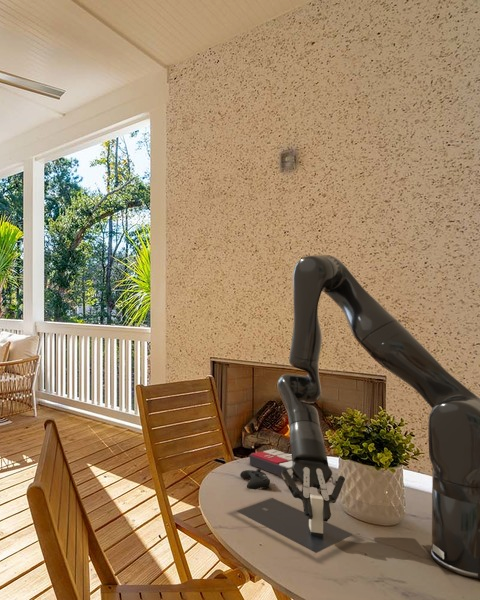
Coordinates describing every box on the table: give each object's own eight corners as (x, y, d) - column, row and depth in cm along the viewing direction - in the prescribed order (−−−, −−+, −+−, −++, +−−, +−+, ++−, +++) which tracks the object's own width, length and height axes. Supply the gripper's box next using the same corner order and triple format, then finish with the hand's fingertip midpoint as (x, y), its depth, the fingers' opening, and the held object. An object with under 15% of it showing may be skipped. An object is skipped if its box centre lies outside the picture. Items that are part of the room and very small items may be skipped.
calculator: (272, 447, 142) (314, 460, 129) (273, 460, 142) (315, 475, 129) (248, 452, 138) (289, 466, 124) (249, 466, 137) (290, 481, 124)
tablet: (360, 539, 95) (360, 535, 95) (318, 561, 87) (318, 556, 87) (271, 499, 114) (271, 495, 114) (230, 513, 106) (230, 510, 106)
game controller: (238, 473, 128) (253, 460, 127) (251, 487, 127) (266, 473, 127) (246, 487, 118) (262, 473, 118) (260, 502, 118) (276, 487, 117)
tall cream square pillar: (320, 531, 96) (321, 494, 96) (323, 537, 94) (323, 499, 94) (308, 529, 97) (309, 492, 97) (310, 535, 94) (311, 497, 94)
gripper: (277, 434, 104) (285, 507, 93) (342, 440, 100) (359, 518, 88) (274, 449, 109) (281, 520, 98) (336, 455, 105) (351, 530, 93)
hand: (318, 518), depth 93 cm, fingers closed on tall cream square pillar, 2 cm apart
